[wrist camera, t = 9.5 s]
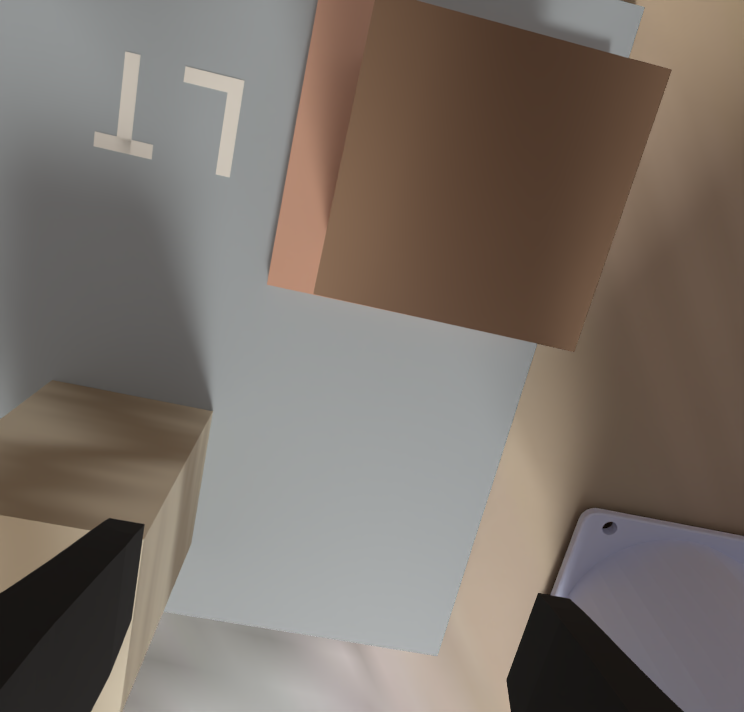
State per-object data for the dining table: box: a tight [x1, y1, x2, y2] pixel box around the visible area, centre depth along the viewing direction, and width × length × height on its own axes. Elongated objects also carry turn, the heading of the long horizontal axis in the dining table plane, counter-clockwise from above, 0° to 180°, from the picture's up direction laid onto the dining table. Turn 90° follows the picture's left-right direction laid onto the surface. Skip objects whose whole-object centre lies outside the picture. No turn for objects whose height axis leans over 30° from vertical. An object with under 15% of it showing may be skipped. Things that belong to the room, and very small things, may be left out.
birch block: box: [0, 380, 213, 712], centre depth 17 cm, size 5×5×7 cm
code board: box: [0, 0, 645, 656], centre depth 20 cm, size 17×22×1 cm
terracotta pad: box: [267, 0, 415, 317], centre depth 18 cm, size 8×8×1 cm
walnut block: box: [313, 0, 671, 352], centre depth 14 cm, size 5×5×7 cm
